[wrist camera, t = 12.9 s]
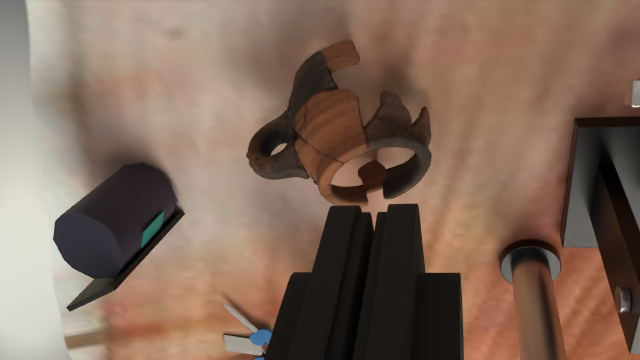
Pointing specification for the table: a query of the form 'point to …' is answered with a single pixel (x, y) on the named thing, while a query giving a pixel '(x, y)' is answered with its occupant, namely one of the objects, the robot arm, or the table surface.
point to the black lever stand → (608, 208)
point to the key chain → (246, 344)
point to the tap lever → (632, 92)
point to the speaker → (116, 228)
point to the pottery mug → (340, 134)
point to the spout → (535, 298)
